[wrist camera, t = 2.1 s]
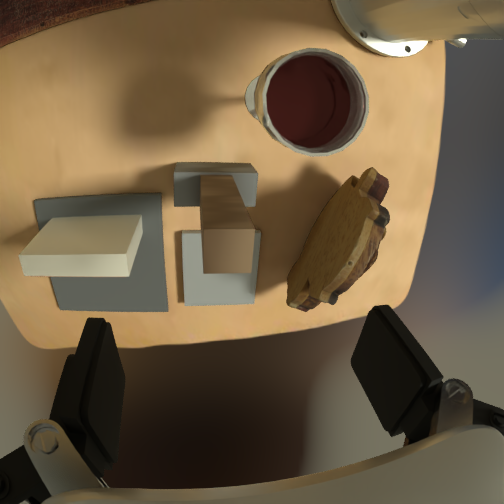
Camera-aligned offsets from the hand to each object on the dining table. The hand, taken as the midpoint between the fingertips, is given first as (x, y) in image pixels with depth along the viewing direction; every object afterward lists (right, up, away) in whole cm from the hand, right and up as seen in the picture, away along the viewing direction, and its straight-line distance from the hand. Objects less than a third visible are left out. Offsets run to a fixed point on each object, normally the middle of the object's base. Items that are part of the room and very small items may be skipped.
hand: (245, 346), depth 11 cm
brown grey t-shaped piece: (-4, +10, +19) cm, 22 cm away
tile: (-16, +6, +18) cm, 25 cm away
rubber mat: (-16, +3, +21) cm, 26 cm away
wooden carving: (+8, +6, +23) cm, 26 cm away
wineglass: (+2, +18, +16) cm, 24 cm away
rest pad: (-3, +2, +24) cm, 24 cm away
